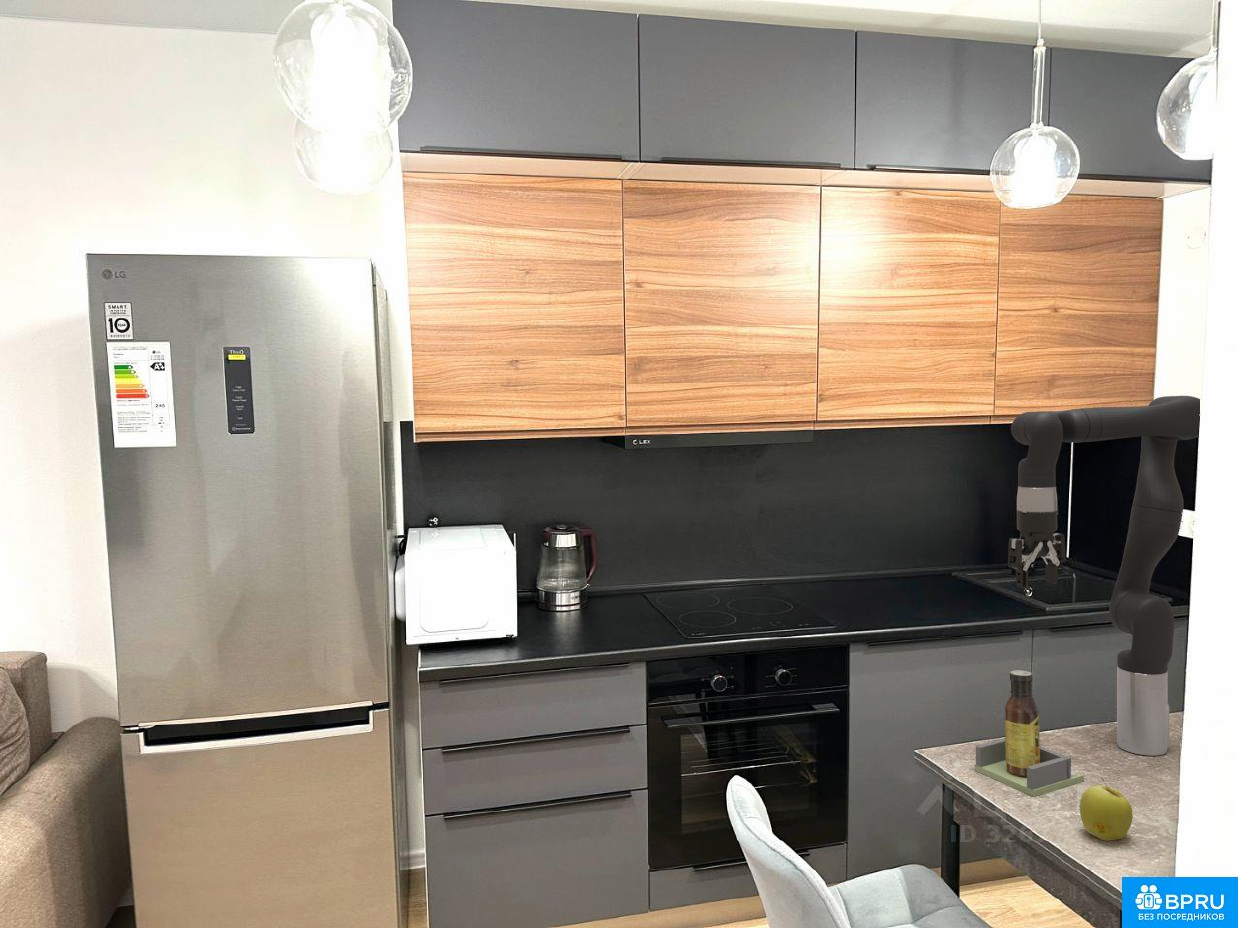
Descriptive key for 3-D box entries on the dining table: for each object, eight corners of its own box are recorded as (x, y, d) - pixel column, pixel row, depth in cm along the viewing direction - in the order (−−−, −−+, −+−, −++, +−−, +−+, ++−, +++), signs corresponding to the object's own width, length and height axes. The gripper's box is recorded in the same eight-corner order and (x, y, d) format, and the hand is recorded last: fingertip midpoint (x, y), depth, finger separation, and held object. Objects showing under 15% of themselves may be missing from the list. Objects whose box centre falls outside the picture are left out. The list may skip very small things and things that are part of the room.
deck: (1023, 756, 185) (1023, 732, 184) (1083, 781, 172) (1083, 755, 172) (974, 770, 179) (974, 745, 178) (1033, 796, 166) (1033, 769, 166)
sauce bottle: (1043, 779, 171) (1043, 678, 170) (1009, 777, 172) (1008, 677, 171) (1035, 765, 177) (1034, 668, 176) (1001, 764, 178) (1001, 667, 177)
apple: (1069, 832, 150) (1076, 772, 151) (1085, 830, 155) (1091, 772, 157) (1121, 848, 144) (1127, 786, 146) (1135, 845, 150) (1141, 785, 151)
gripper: (1044, 504, 188) (1045, 579, 189) (997, 509, 182) (997, 586, 183) (1076, 507, 182) (1076, 584, 183) (1028, 512, 175) (1028, 593, 176)
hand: (1037, 585), depth 183 cm, fingers open, 8 cm apart
